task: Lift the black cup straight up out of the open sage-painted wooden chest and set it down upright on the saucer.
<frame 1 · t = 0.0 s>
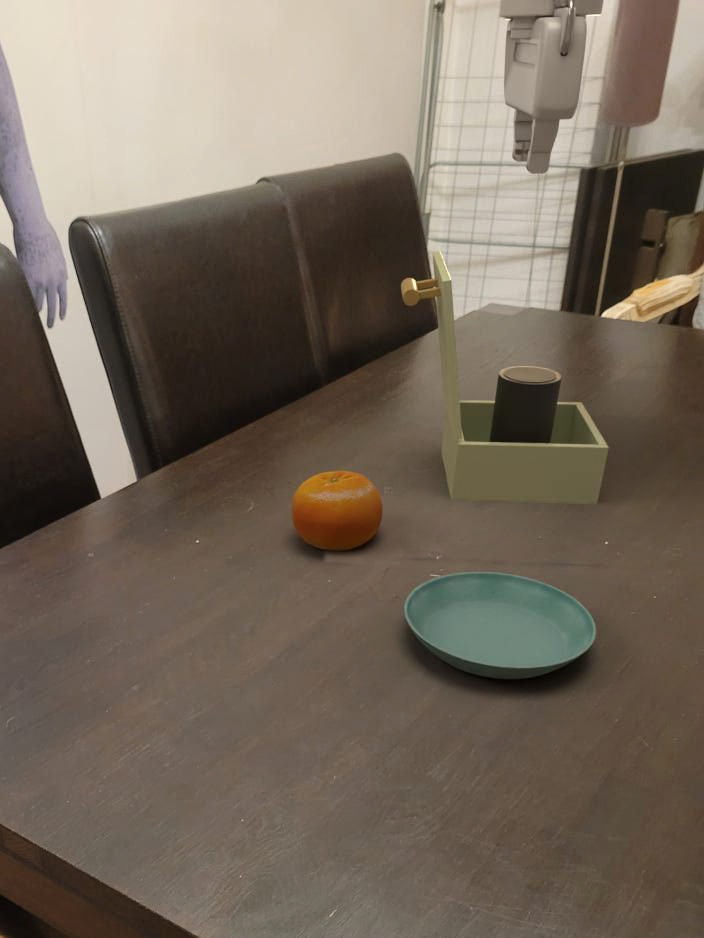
hand: (528, 166, 92), 30 cm above the table, tool pointing down, fingers open, 8 cm apart
fruit: (335, 544, 93), on the table
black cup: (514, 475, 103), point 1 cm above the table, touching chest
chest: (513, 482, 104), on the table
chest lid: (429, 346, 97), point 15 cm above the table, hinge at 100.0°
saucer: (493, 645, 77), on the table
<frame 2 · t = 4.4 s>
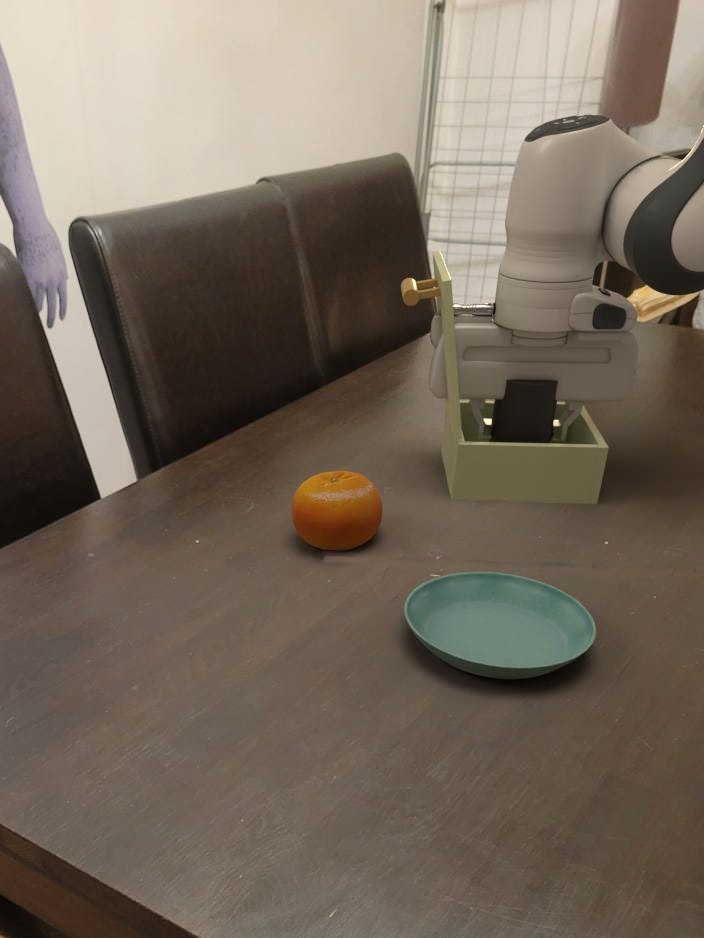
hand: (520, 438, 101), 5 cm above the table, tool pointing down, fingers closed on black cup, 6 cm apart
black cup: (514, 475, 103), point 1 cm above the table, touching chest, gripper
everything else where it was.
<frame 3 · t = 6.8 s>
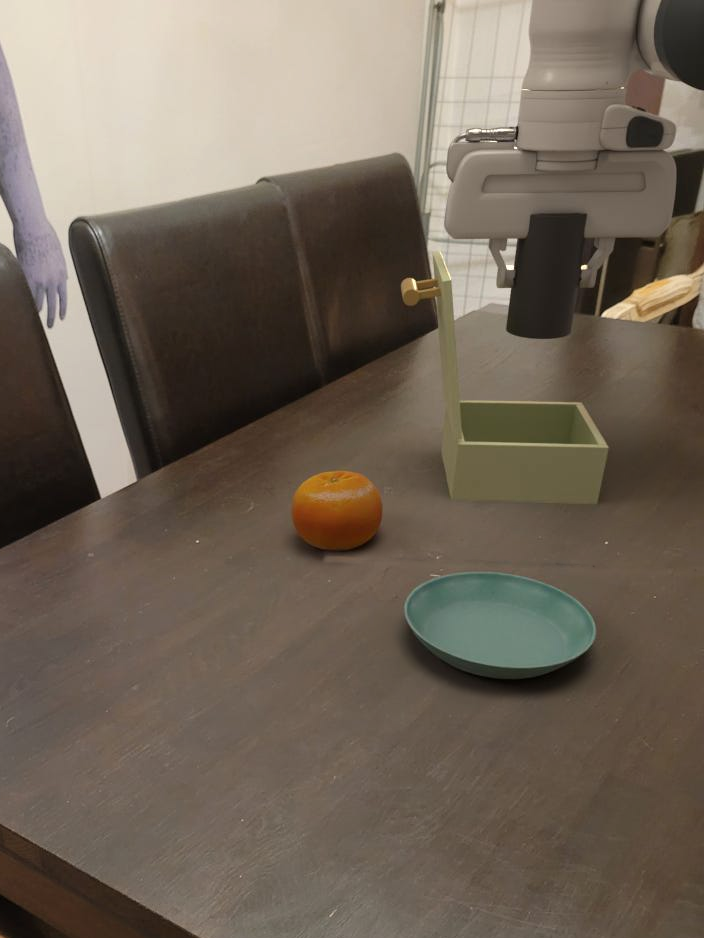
hand: (544, 286, 93), 20 cm above the table, tool pointing down, fingers closed on black cup, 6 cm apart
black cup: (538, 330, 95), point 16 cm above the table, touching gripper
everything else where it was.
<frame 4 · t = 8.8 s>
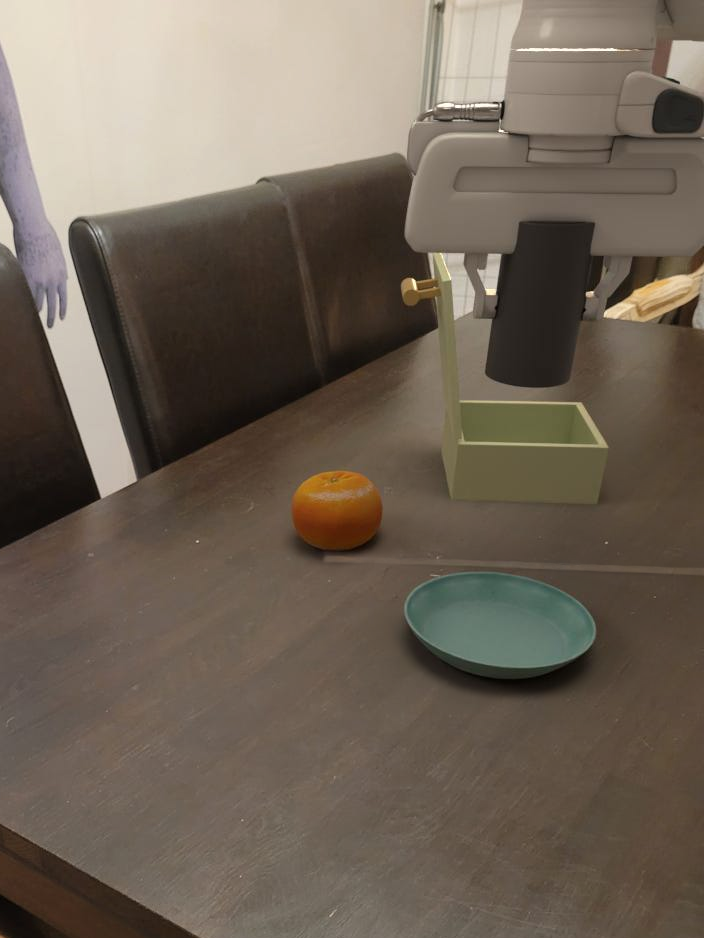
hand: (536, 318, 70), 24 cm above the table, tool pointing down, fingers closed on black cup, 6 cm apart
black cup: (526, 375, 72), point 20 cm above the table, touching gripper
everything else where it was.
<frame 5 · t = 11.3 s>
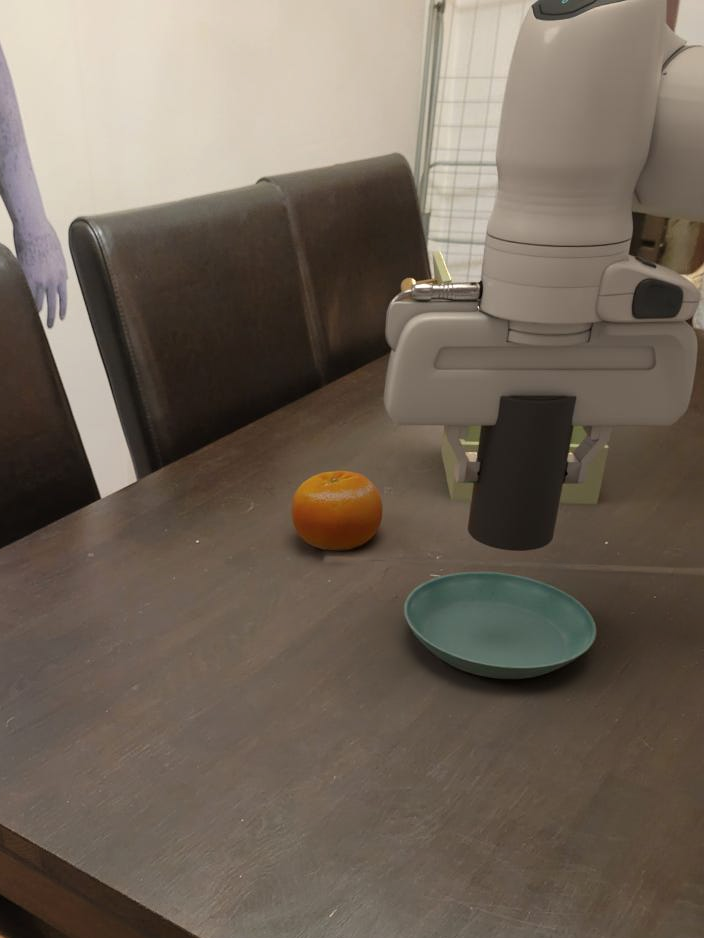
hand: (518, 480, 69), 14 cm above the table, tool pointing down, fingers closed on black cup, 6 cm apart
black cup: (509, 532, 72), point 10 cm above the table, touching gripper
everything else where it was.
when the fingers open (7 cm above the table, at t = 13.5 s): black cup stays where it is, resting on saucer.
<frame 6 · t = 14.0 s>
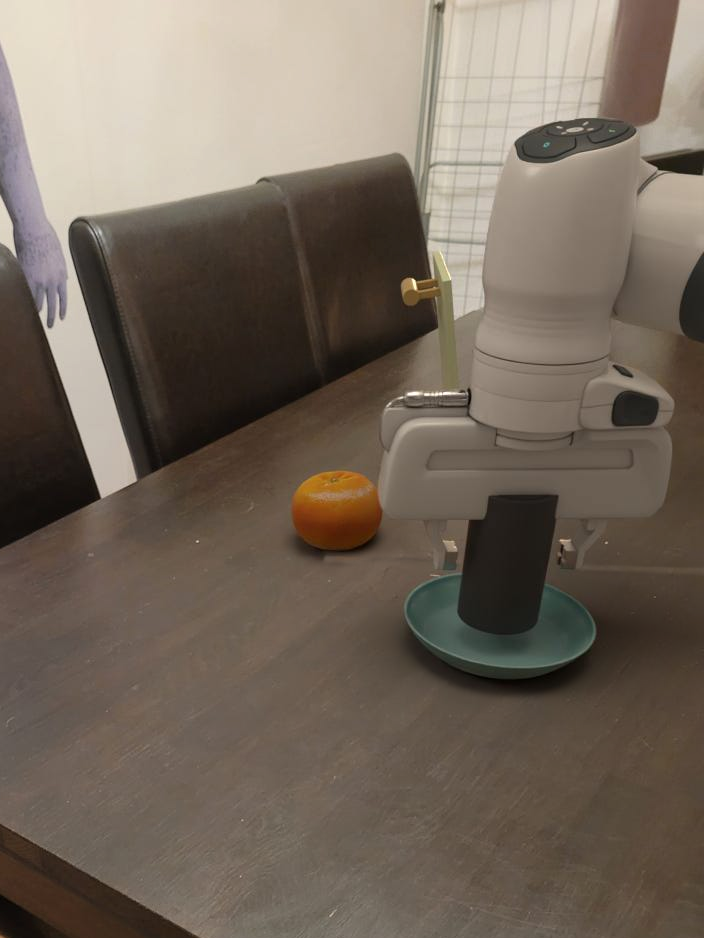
hand: (505, 566, 73), 7 cm above the table, tool pointing down, fingers open, 8 cm apart
black cup: (497, 614, 76), point 3 cm above the table, touching saucer
saucer: (493, 645, 77), on the table, touching black cup
everything else where it was.
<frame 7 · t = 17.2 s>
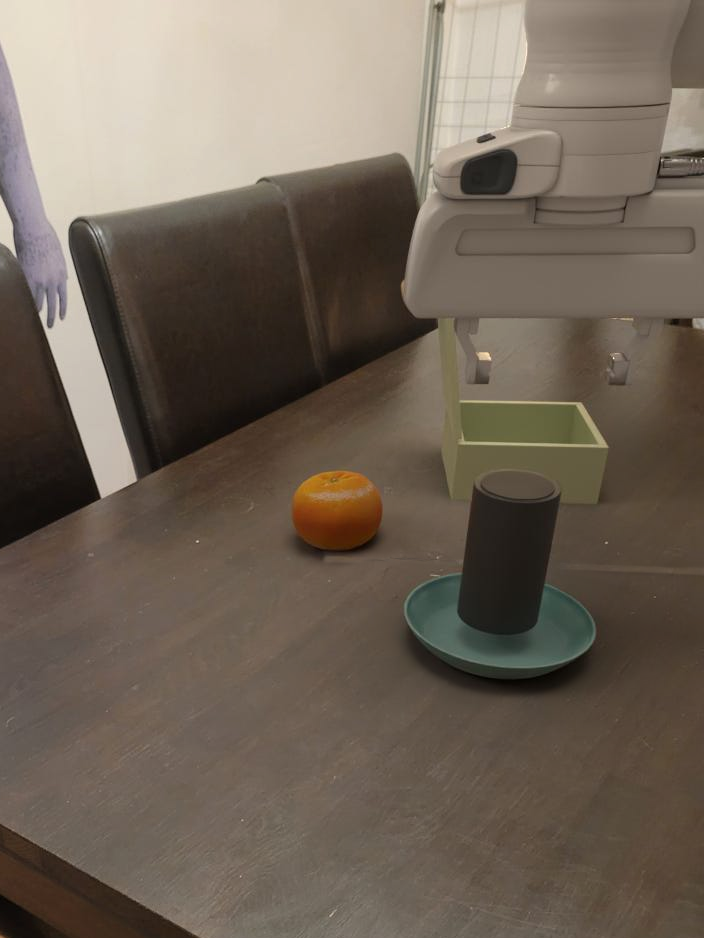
hand: (546, 382, 65), 21 cm above the table, tool pointing down, fingers open, 8 cm apart
nothing on the table moved.
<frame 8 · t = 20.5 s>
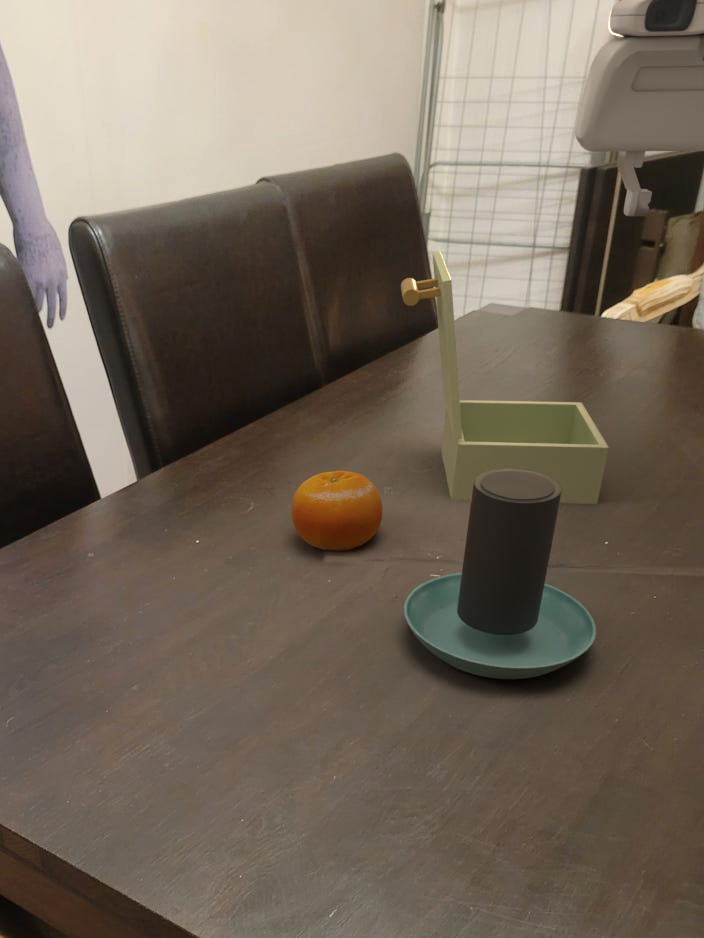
hand: (697, 215, 75), 29 cm above the table, tool pointing down, fingers open, 8 cm apart
nothing on the table moved.
at the end: black cup inside the target area on the saucer (0.1 cm from its centre), point 2.9 cm above the saucer's base; black cup tilted 0°; the gripper is holding nothing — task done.
